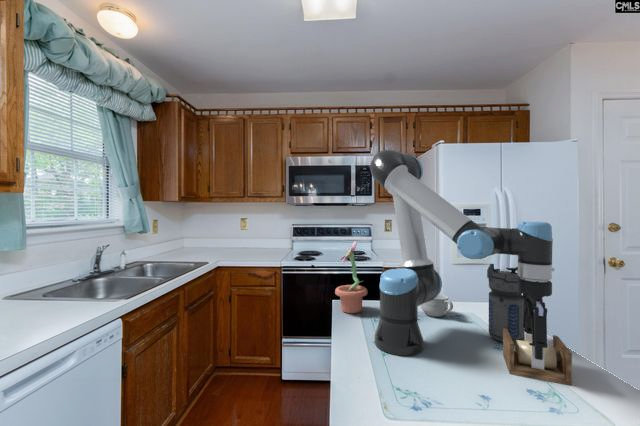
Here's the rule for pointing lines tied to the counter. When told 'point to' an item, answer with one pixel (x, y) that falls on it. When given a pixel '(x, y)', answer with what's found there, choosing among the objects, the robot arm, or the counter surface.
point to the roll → (525, 354)
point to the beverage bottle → (505, 304)
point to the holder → (558, 375)
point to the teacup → (437, 306)
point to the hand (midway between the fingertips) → (533, 363)
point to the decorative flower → (351, 289)
